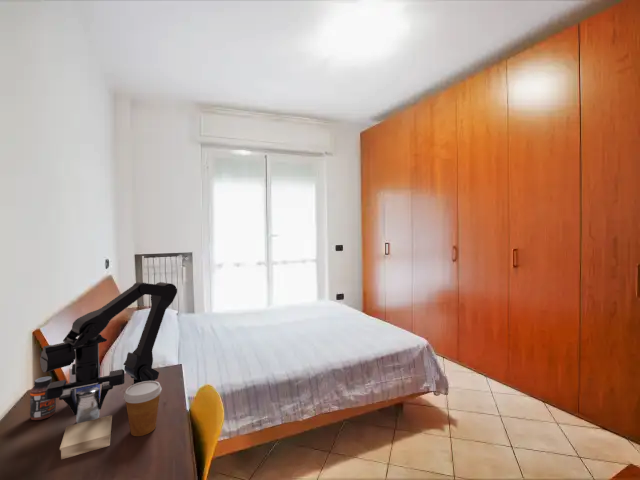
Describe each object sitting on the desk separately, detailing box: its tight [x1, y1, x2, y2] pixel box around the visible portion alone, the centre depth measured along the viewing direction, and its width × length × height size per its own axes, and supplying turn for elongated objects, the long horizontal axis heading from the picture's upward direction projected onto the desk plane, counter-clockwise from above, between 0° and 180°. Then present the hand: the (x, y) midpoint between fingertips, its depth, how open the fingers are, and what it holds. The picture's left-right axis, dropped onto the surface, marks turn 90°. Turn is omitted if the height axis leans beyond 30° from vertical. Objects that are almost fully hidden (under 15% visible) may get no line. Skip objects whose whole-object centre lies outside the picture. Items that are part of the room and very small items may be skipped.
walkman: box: [68, 363, 101, 399], centre depth 106 cm, size 8×3×12 cm, turn 99°
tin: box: [75, 387, 100, 424], centre depth 95 cm, size 6×6×8 cm
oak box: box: [59, 415, 113, 460], centre depth 85 cm, size 10×10×3 cm
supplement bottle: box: [29, 376, 57, 421], centre depth 97 cm, size 6×6×11 cm
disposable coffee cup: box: [122, 380, 162, 437], centre depth 91 cm, size 10×10×12 cm
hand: (88, 411), depth 95 cm, fingers closed on tin, 5 cm apart
